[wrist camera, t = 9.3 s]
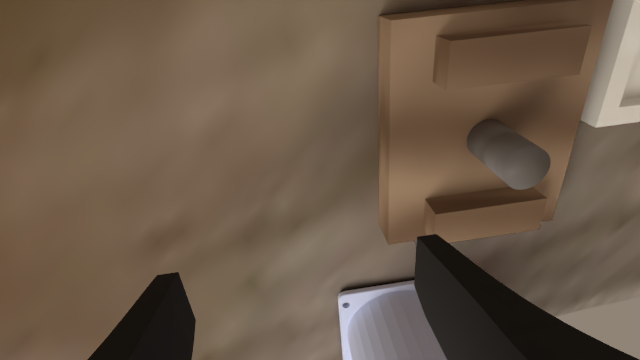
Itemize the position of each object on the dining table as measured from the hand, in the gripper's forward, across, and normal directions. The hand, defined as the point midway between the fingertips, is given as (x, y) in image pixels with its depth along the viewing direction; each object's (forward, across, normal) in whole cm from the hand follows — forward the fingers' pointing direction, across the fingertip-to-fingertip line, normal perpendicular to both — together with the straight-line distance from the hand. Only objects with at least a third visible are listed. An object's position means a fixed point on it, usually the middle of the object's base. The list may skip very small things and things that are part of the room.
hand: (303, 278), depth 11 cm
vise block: (+10, -10, 0) cm, 14 cm away
